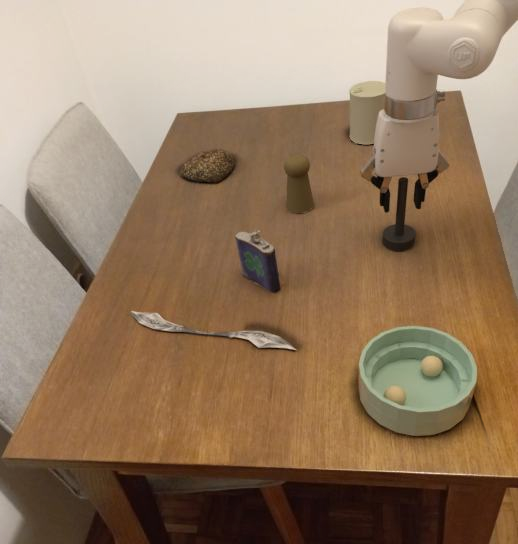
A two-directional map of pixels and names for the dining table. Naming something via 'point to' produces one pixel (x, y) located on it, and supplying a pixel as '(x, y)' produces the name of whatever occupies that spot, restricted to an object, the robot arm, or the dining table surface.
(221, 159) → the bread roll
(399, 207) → the peg on round base
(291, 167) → the olive brown pawn
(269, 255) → the flask
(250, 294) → the dining table surface
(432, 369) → the dough ball
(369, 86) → the can
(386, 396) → the dough ball
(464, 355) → the bowl
